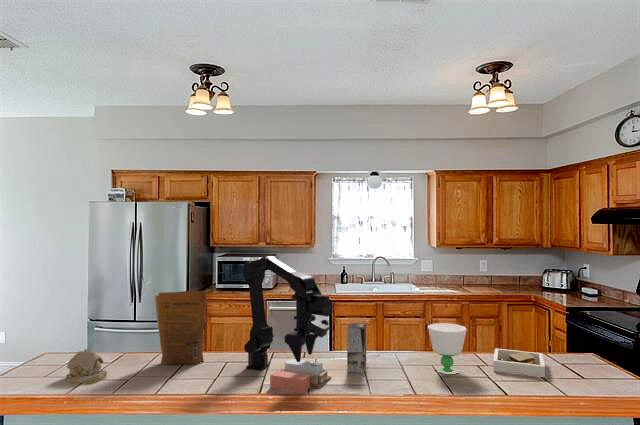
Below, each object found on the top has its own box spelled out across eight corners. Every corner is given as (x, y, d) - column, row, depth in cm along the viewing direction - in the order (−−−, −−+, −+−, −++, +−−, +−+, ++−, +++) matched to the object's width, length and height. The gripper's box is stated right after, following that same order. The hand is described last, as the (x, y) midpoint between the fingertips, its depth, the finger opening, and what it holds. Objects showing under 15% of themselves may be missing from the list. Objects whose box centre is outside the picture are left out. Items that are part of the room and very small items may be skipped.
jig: (276, 381, 154) (276, 371, 154) (290, 372, 163) (290, 363, 163) (319, 388, 148) (319, 378, 148) (330, 378, 157) (330, 368, 157)
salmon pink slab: (270, 388, 148) (270, 375, 148) (277, 383, 153) (277, 370, 153) (303, 394, 143) (303, 380, 143) (309, 388, 148) (309, 375, 148)
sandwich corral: (493, 371, 164) (493, 360, 164) (495, 358, 179) (495, 348, 179) (544, 378, 157) (544, 366, 157) (542, 363, 172) (542, 353, 172)
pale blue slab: (284, 377, 155) (284, 362, 155) (291, 372, 160) (291, 358, 160) (316, 382, 151) (316, 366, 151) (322, 377, 155) (322, 362, 155)
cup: (425, 374, 161) (424, 329, 161) (430, 362, 174) (430, 321, 174) (465, 379, 156) (465, 333, 156) (468, 367, 169) (467, 324, 169)
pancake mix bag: (204, 366, 170) (204, 291, 171) (153, 366, 170) (154, 292, 170) (208, 360, 177) (208, 289, 177) (159, 360, 176) (160, 289, 177)
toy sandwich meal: (491, 362, 174) (491, 350, 175) (525, 362, 175) (525, 350, 175) (506, 373, 162) (506, 360, 162) (543, 373, 163) (543, 360, 163)
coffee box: (364, 373, 162) (364, 328, 162) (346, 372, 163) (346, 327, 163) (366, 365, 171) (366, 322, 171) (350, 364, 172) (350, 321, 172)
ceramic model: (57, 381, 154) (57, 352, 154) (81, 371, 165) (82, 343, 165) (92, 385, 151) (92, 355, 151) (115, 374, 162) (115, 346, 162)
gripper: (314, 320, 144) (314, 369, 143) (335, 309, 161) (336, 353, 161) (283, 317, 148) (283, 365, 148) (307, 307, 165) (307, 349, 165)
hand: (304, 358), depth 155 cm, fingers open, 9 cm apart
